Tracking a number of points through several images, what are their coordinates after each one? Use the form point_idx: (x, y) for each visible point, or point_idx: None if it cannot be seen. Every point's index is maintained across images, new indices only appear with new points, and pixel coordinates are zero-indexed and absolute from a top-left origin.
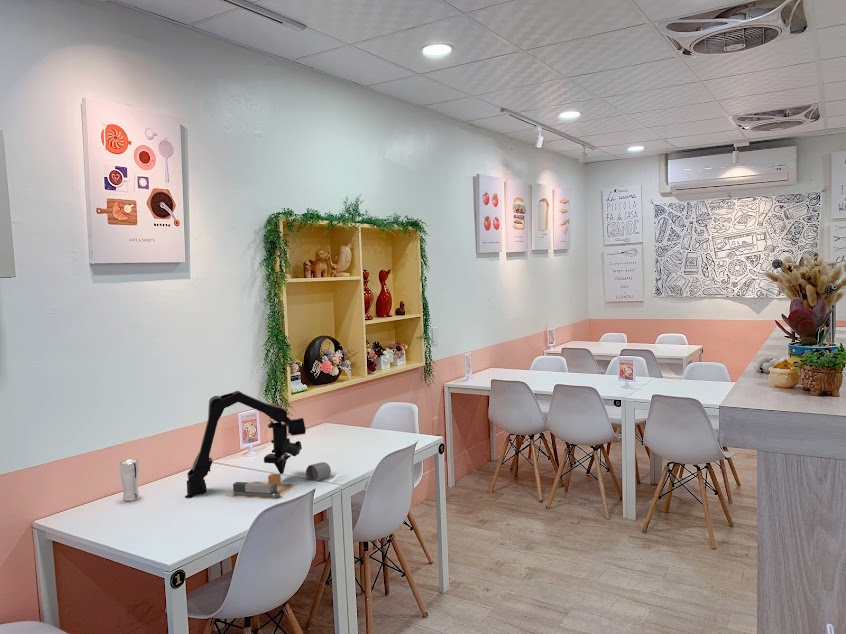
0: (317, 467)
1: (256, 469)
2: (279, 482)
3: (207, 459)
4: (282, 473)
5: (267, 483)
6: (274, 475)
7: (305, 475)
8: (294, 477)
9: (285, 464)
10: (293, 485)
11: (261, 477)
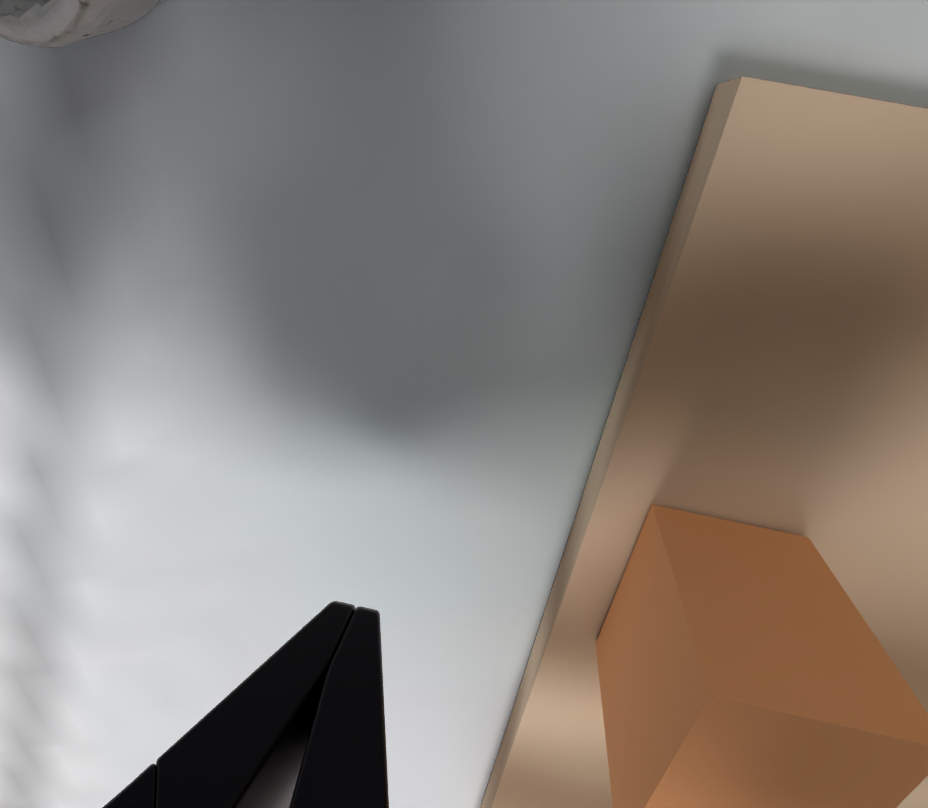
0: None
1: (9, 804)
2: (727, 549)
3: None
4: (379, 618)
5: (591, 695)
6: (809, 802)
7: (90, 12)
8: (103, 350)
9: (132, 792)
10: (849, 177)
11: None
